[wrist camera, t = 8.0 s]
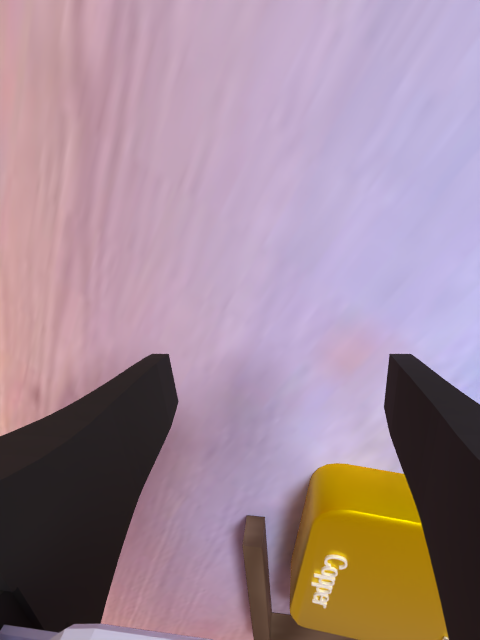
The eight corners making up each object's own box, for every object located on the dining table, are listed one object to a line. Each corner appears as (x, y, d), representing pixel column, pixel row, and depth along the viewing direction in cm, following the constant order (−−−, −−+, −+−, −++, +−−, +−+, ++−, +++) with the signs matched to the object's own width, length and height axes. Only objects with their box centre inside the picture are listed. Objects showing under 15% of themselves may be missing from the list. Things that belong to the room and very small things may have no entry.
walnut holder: (529, 541, 26) (550, 578, 24) (482, 650, 33) (495, 686, 31) (246, 515, 30) (242, 545, 27) (257, 618, 36) (254, 649, 34)
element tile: (315, 453, 26) (317, 513, 22) (532, 491, 25) (581, 563, 20) (287, 570, 33) (285, 633, 29) (457, 605, 31) (481, 677, 27)
